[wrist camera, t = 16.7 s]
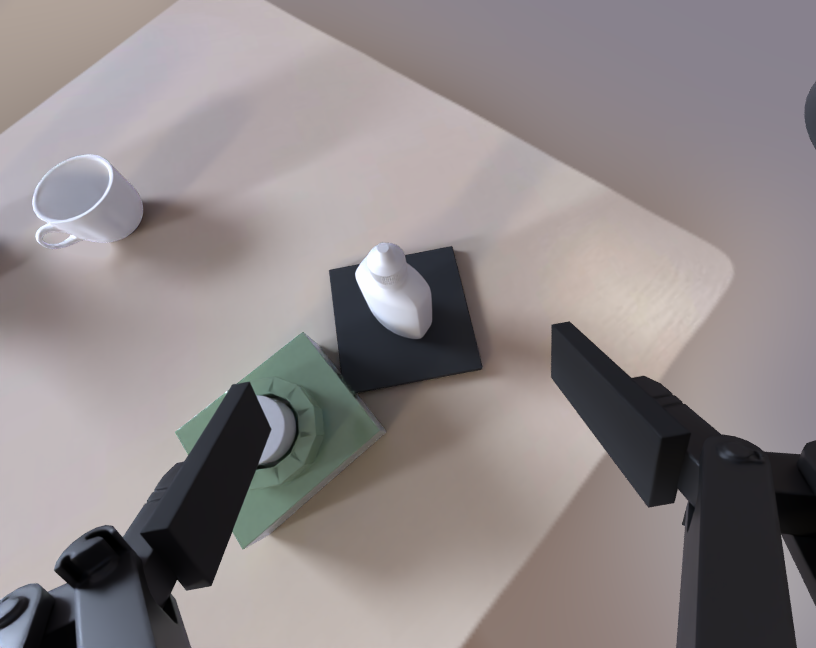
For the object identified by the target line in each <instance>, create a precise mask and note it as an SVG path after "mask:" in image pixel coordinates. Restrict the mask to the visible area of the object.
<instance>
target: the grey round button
mask: <svg viewBox="0 0 816 648" xmlns="http://www.w3.org/2000/svg"><path fill="white" fill-rule="evenodd" d="M256 396H257V398H258V401H259V403H260V405H261V407H262V409H263V412H264V414H265V416H266V418H267V420H268V422H269V425H270V427H271V429H272V430H271V432H270V435H269V438H268V440H267V443H266V445H265V448H264V451H263V453H262V456H261V458H260V461H259V464H258V465H263V464H269V463H272V462H274V461H276V460H278V459H280V458H281V457H282V456H283V455H284V454H286V452H287V451H288V450H289V449H290V447H291V445H292V443H293V441H294V438H295V434H296V420H295V417H294V414H293V412H292V411H291V409H290V408H289V407H288V406H287V405H286V404H285V403H283V402H282V401H279V400H276V399H273V398H269V397H265V396H260V395H256Z"/></svg>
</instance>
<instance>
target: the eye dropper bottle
mask: <svg viewBox="0 0 816 648" xmlns="http://www.w3.org/2000/svg"><path fill="white" fill-rule="evenodd" d="M355 275H356V280H357V282H358V285H359V287H360V289H361V291H362V293H363V295H364V298H365V300H366V302H367V304H368V306H369V308H370V310H371V312H372V313H373V315H374V316H375V317H376V319H377V320H378V321H379V322H380V323H381V324H382V325H383V326H384V327H386V328H387V329H388V330H390V331H392V332H393V333H395V334H397V335H400V336H403V337H406V338H410V339H421V338H422V337H423V336H424V335H425V333H426V332H427V330H428V329H429V327H430V326H431V323H432V299H431V291H430V287H429V286H428V284H427V282H426V281H425V280H424V278H423V277H422V276H421V275H420V274H419V273H418V272H417V271H416V270H415V269H414V268H413V267H411V266H410V265H409V264H407V263H406V257H405V254H404V252H403V251H402V249H401V248H400V247H399V246H397V245H395V244H393V243H384V242H382V243H380V244H378V245H377V246H375V247H374V248H373V249H372V250H371V251H370V252H369V254H368V256H367V257H366V258H365V259H364V260H363V261H362V263H361V264H360V265H359V267H358V268H357V270H356V273H355Z"/></svg>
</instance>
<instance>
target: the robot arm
mask: <svg viewBox="0 0 816 648" xmlns="http://www.w3.org/2000/svg"><path fill="white" fill-rule="evenodd" d="M551 378H552V379H553V381H554V382H555V383H556V385H557V386H558V387H559V389H560V390H561V391H562V393H563V394H564V395H565V397H566V398H567V399H568V401H569V402H570V403H571V405H572V406H573V407H574V409H575V410H576V411H577V413H578V414H579V415H580V417H581V418H582V419H583V421H584V422H585V423H586V425H587V426H588V427H589V429H590V430H591V431H592V433H593V434H594V435H595V437H596V438H597V439H598V441H599V442H600V443H601V445H602V446H603V447H604V449H605V450H606V451H607V453H608V454H609V456H610V457H611V458H612V459H613V461H614V462H615V464H616V465H617V466H618V468H619V469H620V470H621V472H622V473H623V474H624V475H625V477H626V478H627V480H628V481H629V482H630V484H631V485H632V486H633V488H634V489H635V490H636V492H637V493H638V494H639V496H640V497H641V498H642V500H643V501H644V502H645V504H646V505H647V506H648V507H654V506H660V505H665V504H671V503H674V501H675V498H676V494H677V490H678V489H679V490H680V492H681V493H682V494H683V495H684V496H685V497H686V499H687V500H688V504H687V507H686V511H685V515H684V519H683V522H682V525H684V526H685V534H684V548H683V549H684V550H683V562H682V575H681V589H680V603H679V618H678V632H677V645H676V648H797V645H796V639H795V631H794V624H793V617H792V611H791V603H790V596H789V589H788V582H787V575H786V567H785V561H784V553H783V547H782V539H781V535H782V537H783V539H784V541H785V543H786V545H787V547H788V549H789V551H790V553H791V555H792V558H793V560H794V562H795V564H796V566H797V568H798V570H799V572H800V574H801V576H802V578H803V581H804V583H805V585H806V587H807V589H808V591H809V593H810V595H811V597H812V599H813V601H814V604H815V606H816V441H812V442H809V443H807V444H806V445H805V447H804V449H803V450H802V453H801V454H788V453H773V452H764V451H762V450H761V449H760V448H759V447H757V446H756V445H754V444H752V443H750V442H749V441H747V440H744V439H741V438H738V437H735V436H729V435H721V434H720V433H719V432H718V431H717V430H715V429H714V428H713V427H711V425H709V424H708V423H707V422H706V421H705V420H703V419H702V418H701V417H700V416H699V415H697V414H696V413H695V412H694V411H693V410H692V409H690V408H689V407H688V406H687V405H686V404H683V403H682V401H681V400H679V399H678V398H677V397H676V396H673V395H672V393H671V392H670V391H669V390H668V389H666V388H665V387H664V386H663V385H662V384H661V383H659V382H656V381H654V380H652V379H650V378H648V377H646V376H640V377H635V378H631V377H630V376H629V375H628V374H626V373H625V372H624V371H623V370H622V369H621V368H620V367H619V366H618V365H617V364H616V363H614V362H613V361H612V360H611V359H610V358H609V357H608V356H607V355H606V354H605V353H603V352H602V351H601V350H600V349H599V348H598V347H597V346H596V345H595V344H594V343H593V342H591V341H590V340H589V339H588V338H587V337H586V336H585V335H584V334H583V333H582V332H581V331H579V330H578V329H577V328H576V327H575V326H574V325H573V324H572V323H571V322H570V321H569V322H564V323H558V324H553V325H552V343H551ZM271 430H272V429H271V427H270V425H269V422H268V420H267V418H266V416H265V414H264V412H263V409H262V407H261V405H260V403H259V401H258V398H257V396H256V394H255V392H254V390H253V387H252V385H251V383H250V381H249V382H244V383H239V384H233V385H232V386H231V388H230V389H229V391H228V392H227V394H226V396H225V397H224V399H223V400H222V402H221V404H220V405H219V407H218V408H217V410H216V412H215V413H214V415H213V416H212V418H211V420H210V421H209V423H208V424H207V426H206V428H205V429H204V431H203V432H202V434H201V436H200V437H199V439H198V440H197V442H196V444H195V445H194V447H193V448H192V450H191V452H190V453H189V455H188V456H187V458H186V460H185V461H184V462H180V463H176V464H175V465H174V466H173V467H172V468H171V469H170V470H169V471H168V472H167V473H166V474H165V475H164V476H163V477H162V479H161V480H160V482H159V483H158V485H157V486H156V488H155V489H154V490H155V491H154V492H152V494H151V495H150V497H149V498H148V500H147V503H146V504H145V505H144V506H143V508H142V509H141V511H140V512H139V514H138V515H137V517H136V518H135V520H134V521H133V523H132V524H131V526H130V527H129V529H128V530H127V532H126V533H125V535H124V536H123V537H122V536H121V535H120V534H119V533H118V531H117V530H116V529H115V528H114V527H113V526H109V525H105V526H101V527H97V528H95V529H93V530H91V531H89V532H87V533H85V534H84V535H82V536H81V537H79V538H78V539H77V540H75V541H74V542H73V543H72V544H71V545H70V546H69V547H68V548H67V549H66V550H65V551H64V552H63V553H62V555H61V556H60V557H59V559H58V560H57V562H56V565H55V568H54V571H55V572H56V573H57V574H58V575H59V576H60V577H61V578H63V579H64V580H65V581H66V582H67V583H66V584H64V585H62V586H60V587H57V588H55V589H53V590H51V591H49V592H47V591H46V590H45V589H44V588H42V587H41V586H40V585H39V584H28V585H25V586H23V587H20V588H18V589H16V590H15V591H13V592H12V593H10V594H8V595H7V596H5V597H4V598H3V599H1V600H0V648H191V646H190V643H189V640H188V636H187V633H186V630H185V627H184V624H183V621H182V618H181V615H180V611H179V608H178V605H177V602H176V599H175V598H174V597H173V595H172V594H171V592H172V589H173V587H174V585H175V583H176V581H177V580H178V581H179V582H180V583H181V585H182V586H183V587H184V588H185V590H186V591H187V590H192V589H198V588H203V587H209V586H212V583H213V580H214V578H215V575H216V573H217V570H218V567H219V565H220V562H221V560H222V557H223V554H224V552H225V549H226V547H227V544H228V541H229V539H230V536H231V534H232V531H233V528H234V526H235V523H236V521H237V518H238V515H239V513H240V510H241V508H242V505H243V503H244V500H245V497H246V495H247V492H248V490H249V487H250V484H251V482H252V479H253V477H254V474H255V471H256V469H257V466H258V464H259V461H260V458H261V456H262V453H263V451H264V448H265V445H266V443H267V440H268V438H269V435H270V432H271Z"/></svg>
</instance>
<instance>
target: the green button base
mask: <svg viewBox="0 0 816 648" xmlns="http://www.w3.org/2000/svg"><path fill="white" fill-rule="evenodd" d="M249 381H250V383H251V385H252V387H253V390H254V392H255V394H256V395H260V396H265V397H269V398H273V399H276V400H279V401H282V402H283V403H285V404H286V405H287V406H288V407H289V408H290V409H291V411H292V412H293V414H294V417H295V420H296V434H295V438H294V441H293V443H292V445H291V447H290V449H289V450H288V451H287V452H286V454H284V455H283V456H282V457H281V458H280V459H278V460H276V461H274V462H272V463H269V464H263V465H258V466H257V469H256V471H255V474H254V477H253V479H252V482H251V484H250V487H249V490H248V492H247V495H246V497H245V500H244V503H243V505H242V508H241V510H240V513H239V515H238V518H237V521H236V523H235V526H234V528H233V531H232V532H233V534H234V535H235V537H236V539H237V541H238V542H239V544H240V546H241V547H242V549H245V548H247V547H249V546H250V545H252V544H254V543H256V542H257V541H259V540H261V539H263V538H265V537H266V536H268V535H269V534H271V533H272V532H273V531H274V530H275V529H276V528H277V527H279V526H280V525H281V524H282V523H283V522H284V521H285V520H287V519H288V518H289V517H290V516H291V515H292V514H294V513H295V512H296V511H297V510H298V509H299V508H300V507H302V506H303V505H304V504H305V503H306V502H307V501H308V500H310V499H311V498H312V497H313V496H314V495H315V494H316V493H318V492H319V491H320V490H321V489H322V488H323V487H324V486H326V485H327V484H328V483H329V482H330V481H331V480H332V479H334V478H335V477H336V476H337V475H338V474H339V473H340V472H342V471H343V470H344V469H345V468H346V467H347V466H348V465H350V464H351V463H352V462H353V461H354V460H355V459H356V458H358V457H359V456H360V455H361V454H362V453H363V452H364V451H366V450H367V449H368V448H369V447H370V446H371V445H372V444H374V443H375V442H376V441H377V440H378V439H379V438H380V437H382V436H383V435H384V434H385V433H386V432H387V431H386V430H385V429H384V427H383V426H382V425H381V424H380V422H379V421H378V420H377V419H376V417H375V416H374V415H373V413H372V412H371V411H370V410H369V408H368V407H367V406H366V405H365V403H364V402H363V401H362V399H361V398H360V397H359V396H358V394H357V393H355V391H354V390H353V389H352V388H351V386H350V385H349V384H348V382H347V381H346V380H345V379H344V377H343V376H342V375H341V373H340V371H339V370H338V369H337V368H336V366H335V365H334V364H333V363H332V361H331V360H330V359H329V357H328V356H327V355H326V354H325V352H324V351H323V350H322V349H321V347H320V346H319V345H318V344H317V343H316V342H315V341H313V340H312V339H311V338H310V337H309V336H307V335H306V334H305V333H304V332H302V333H301V334H299V335H298V336H297V337H296V338H294V339H293V340H292V341H291V342H289V343H288V344H287V345H285V346H284V347H283V348H282V349H280V350H279V351H278V352H277V353H275V354H274V355H273V356H271V357H270V358H269V359H268V360H266V361H265V362H264V363H262V364H261V365H260V366H259V367H257V368H256V369H255V370H254V371H252V372H251V373H250V374H248V375H247V376H246V377H245V378H243V379H242V380H241V381H240V382H238V383H237V384H239V383H244V382H249ZM228 391H229V390H228ZM228 391H227V392H228ZM227 392H226V393H224V394H223V395H222V396H220V397H219V398H218V399H217V400H215V401H214V402H213V403H212V404H210V405H209V406H208V407H206V408H205V409H204V410H203V411H201V412H200V413H199V414H197V415H196V416H195V417H194V418H192V419H191V420H190V421H189V422H187V423H186V424H185V425H183V426H182V427H181V428H180V429H178V430H177V431H176V432H175V433H176V435H177V436H178V438H179V440H180V442H181V443H182V445H183V447H184V449H185V450H186V452H187V454H188V455H189V453H190V452H191V450H192V448H193V447H194V445H195V444H196V442H197V440H198V439H199V437H200V436H201V434H202V432H203V431H204V429H205V428H206V426H207V424H208V423H209V421H210V420H211V418H212V416H213V415H214V413H215V412H216V410H217V408H218V407H219V405H220V404H221V402H222V400H223V399H224V397H225V396H226V394H227Z"/></svg>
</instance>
